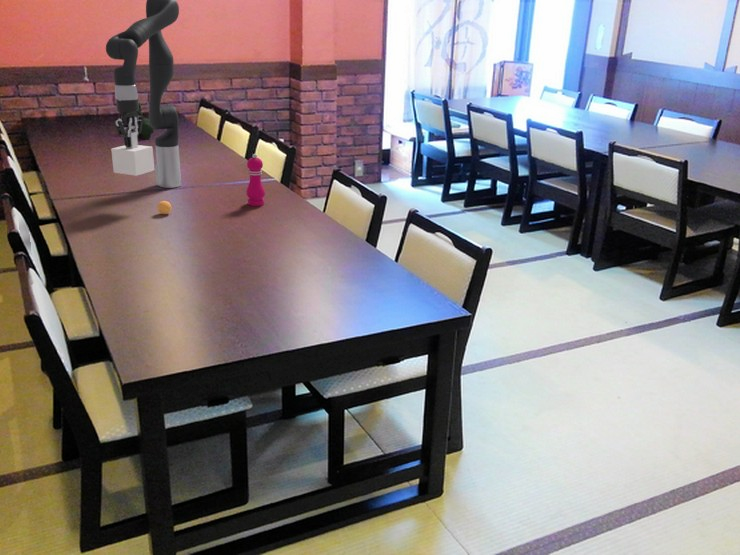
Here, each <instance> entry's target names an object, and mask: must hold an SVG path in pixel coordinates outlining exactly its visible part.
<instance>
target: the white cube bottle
mask: <svg viewBox="0 0 740 555" xmlns="http://www.w3.org/2000/svg"><path fill="white" fill-rule="evenodd" d="M126 133H127V131H126ZM130 138H131V147H126V146H125V144H124V145H121V146H117V147H113V148H111V158H112V159H111V160H112V169H113V174H121V175H129V176H135V177H138V176H140V175H143V174H146V173H147V174H148V173H150V172H153V171H156V170H155V158H154V149H153V148H154V147H153V146H151V145H150V146H148V145H139V140H138V141H137V132H132V131H130Z"/></svg>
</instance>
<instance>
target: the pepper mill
mask: <svg viewBox="0 0 740 555" xmlns="http://www.w3.org/2000/svg"><path fill="white" fill-rule="evenodd" d="M263 165H264V162H263V161H262V159H261V158H258V155H257V153H252V157H251V158H249V159H248V160H247V163H246V167H247V169H248V174H249V183H248V186H247V188H246V196H247V198H248V199H247V204H248V206H250V205H251V206H252V207H260V206H263V205H265V199H264V198H265V195H266V191H265V187H264V185H263V182H262V178H261V175H262V174H263V173H262V168H263Z"/></svg>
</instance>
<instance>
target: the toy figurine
mask: <svg viewBox="0 0 740 555" xmlns="http://www.w3.org/2000/svg"><path fill="white" fill-rule="evenodd" d="M138 104H139V111H137V113H138V116H142V117H144V116H143V111H142V103H140V102H138ZM138 129H139V126H138ZM154 130H155V129H153V128H152V127H151V125H150V121H149V118H147V117H146V118H145V117H144V119H143V125H142V131H141V133H138V135H137V136H138V137H142V139H144V140H149V139H151V137H152V134H153V133H154Z"/></svg>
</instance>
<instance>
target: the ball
mask: <svg viewBox="0 0 740 555" xmlns="http://www.w3.org/2000/svg"><path fill="white" fill-rule="evenodd" d="M156 208H157V211H158V212H159V213H160V214H161V215H168V214H170V213H171V211H172V205H171V203H170V202H169V201H167V200H162V201H159V202H158V204H157V207H156Z"/></svg>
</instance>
